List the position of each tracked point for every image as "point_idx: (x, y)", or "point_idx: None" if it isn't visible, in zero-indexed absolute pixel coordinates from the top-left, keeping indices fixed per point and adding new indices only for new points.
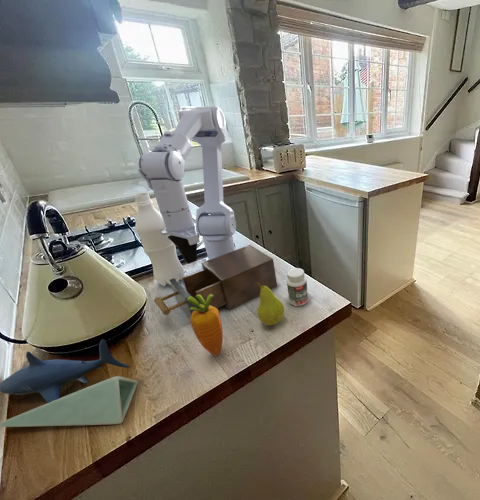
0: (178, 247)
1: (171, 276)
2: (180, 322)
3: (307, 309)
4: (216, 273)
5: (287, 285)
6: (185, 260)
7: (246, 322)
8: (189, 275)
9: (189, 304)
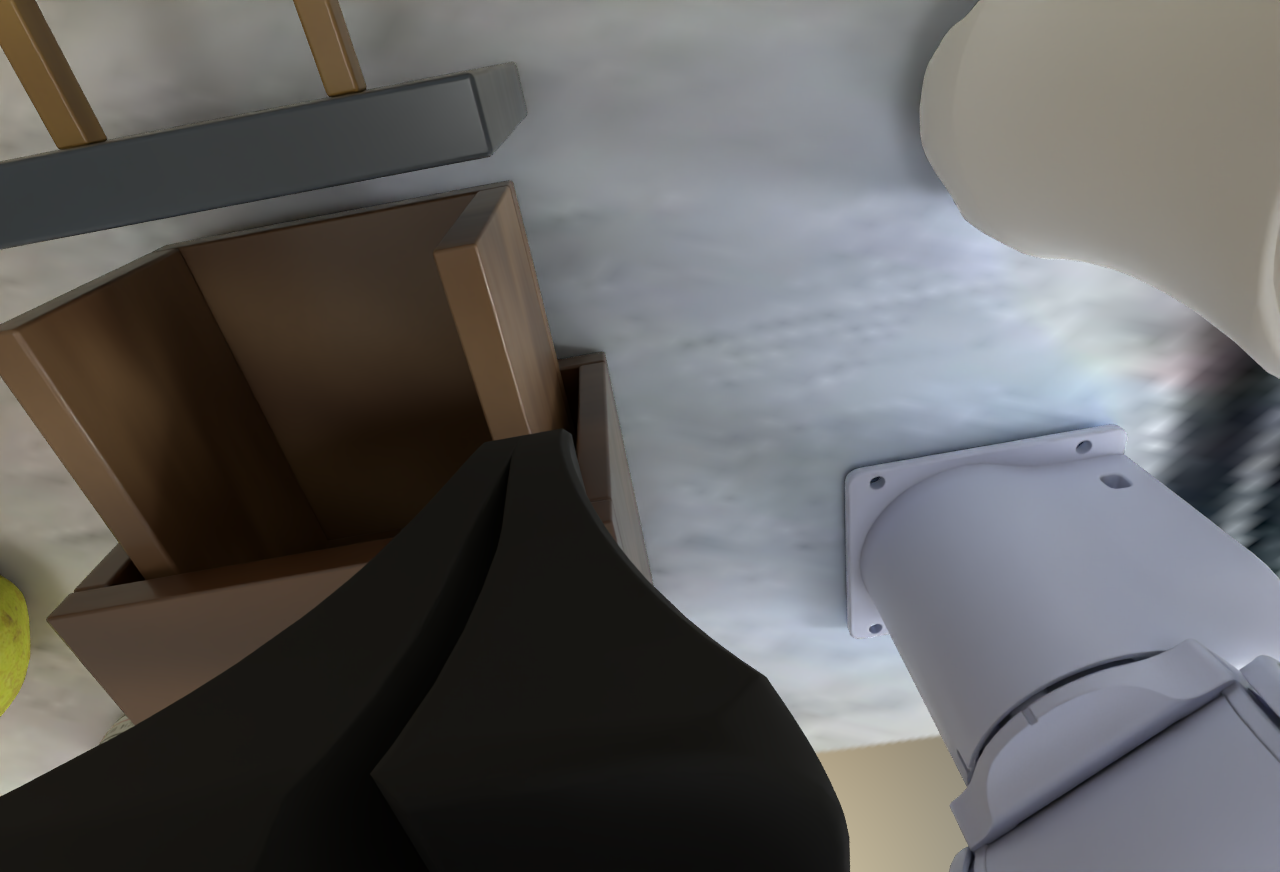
0: (229, 684)
1: (950, 101)
2: (221, 24)
3: (67, 747)
4: (245, 604)
5: None
6: (511, 449)
7: (38, 470)
8: (473, 336)
9: None
